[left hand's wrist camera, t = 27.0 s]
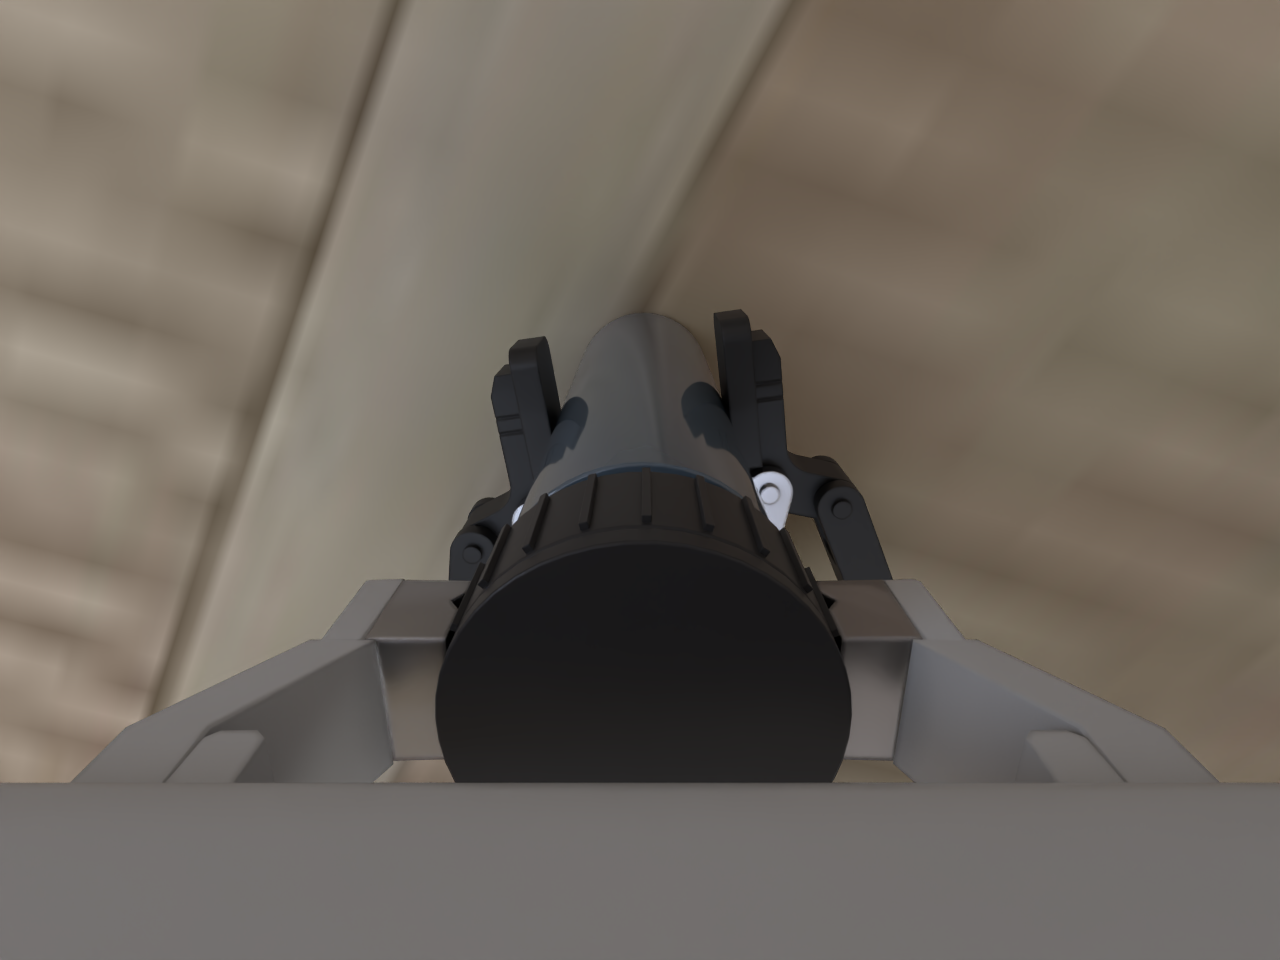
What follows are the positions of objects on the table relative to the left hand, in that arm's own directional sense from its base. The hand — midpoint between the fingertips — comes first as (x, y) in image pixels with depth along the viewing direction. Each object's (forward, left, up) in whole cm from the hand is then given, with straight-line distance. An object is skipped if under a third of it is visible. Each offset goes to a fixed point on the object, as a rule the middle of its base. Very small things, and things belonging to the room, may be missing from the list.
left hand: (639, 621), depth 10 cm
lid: (0, 0, +2) cm, 2 cm away
